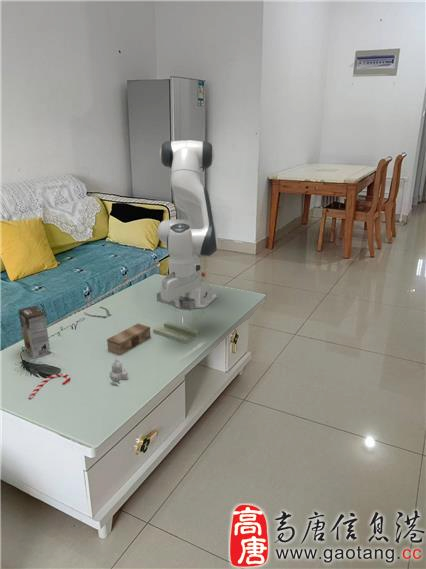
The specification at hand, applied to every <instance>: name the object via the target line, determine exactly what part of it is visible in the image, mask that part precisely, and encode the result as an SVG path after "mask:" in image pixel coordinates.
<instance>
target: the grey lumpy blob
mask: <svg viewBox="0 0 426 569" xmlns="http://www.w3.org/2000/svg"><path fill="white" fill-rule="evenodd" d="M110 368H111V371H110V372H109V378H110V380H111V381H112V382H114V383H119V382H120V381H121V380H127V379H129V378H128V374H129V372H128V371H126V369H125V368H123V363H122V362H121V361H120V360H119V359H117V358H114V362H113V363H112V365H111V367H110Z"/></svg>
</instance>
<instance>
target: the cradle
mask: <svg viewBox="0 0 426 569" xmlns="http://www.w3.org/2000/svg"><path fill="white" fill-rule="evenodd" d="M152 333H153V334H155V335H158V336H162V337H164V338H167V339H170V340H174V341H176V342H179V343H182V344H188V343H189V342H190V341H193V340H194V339H195V338H197V337H199V336H200V331H198V330H197V329H192V328H189V327H186V326H183V325H180V324H176V323H172V322H170V321H166V322H164V323H163V327H161V328H160V327H155V328H153V329H152Z"/></svg>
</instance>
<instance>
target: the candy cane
mask: <svg viewBox="0 0 426 569" xmlns="http://www.w3.org/2000/svg"><path fill="white" fill-rule="evenodd" d="M57 378H63V379H64V378H65V379H66V380H65V381H63V382H62V383H61V384H62V385H63V386H66V385H67V384H68V383H70V381H71V376H70V375H69V374H68V373H56V374H53V375H49V376H47V377H46V378H44V379H42V381H41V382H40V383H39V384H38V385H37V386H36V387H35V388H34V389H33V390H32V392H31V393H30V395H29V396H28V400H32V398H33V399H34V397H35V396H36V395H37V393H38V392H39V391H40V390H41V389H42V387H43V386H45V385H46V383H48V382H49V381H51V380H53V379H57ZM39 389H40V390H39ZM35 394H36V395H35Z"/></svg>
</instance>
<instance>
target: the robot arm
mask: <svg viewBox="0 0 426 569" xmlns="http://www.w3.org/2000/svg"><path fill="white" fill-rule="evenodd" d="M159 158H160V159H159V160H160V162H161V164H162V165H163V166H164V167H166V168H169V169H171V170H170V171H171V172H170V186H171V190H172V191H173V194H174V206H175V207H176V208H177V209H178V210H180V211H182V212H183V213H186V215H187V219H177V218H175V219H174V218H172V219H166V220H162V221H161V222H159V224H158V226H157V229H156V230H157V231H156V232H157V237H158V239H159V241H161V243H163V244H164V245H165V246H166V250H167V252H168V253H169V258H168V272H169V273H168V274H167V275H165V276H164V278H162V280H161V284H160V292H161V299H162V300H164V301H168V302H169V301H171V300H174V302H175V306H174V307H176V308H178V309H180V308H179V307H181V302H180V301H179V299H180V296H183V297H187V298H191V299H195V304H196V308H195V309H205V308H206V307H207V306H208V305H210V304H211V303H212V302H213V301H214V300H215V299H217V294H216V293H214V292H213V291H212V286H211V285H210V284H209V283H208V282H206V281H205V280H203V278H206V274H207V273H206V272H203V271H201V270H202V269H203V268H202V267H203V266H202V264H201V263H200V262H201V260H200V257H199V256H204V257H206V256H207V257H210V256H212V255H213V254H215V253H216V251H218V247H219V238H218V235H217V229H216V226H215V223H214V217H213V216H214V215H213V210H212V205H211V200H210V195H209V194H210V193H209V191H208V189H207V188H206V187H204V185H202V182H201V174H200V173H201V170H200V169H202V172H205V170H207V169H209V168H210V167H211V166H212V163H214V160H215V149H214V147H213V145H212V143H211V142H209V141H205V140H203V141H200V140H195V139H194V140H191V139H187V140H167V141H164V142H163V143H162V144H161V147H160V149H159Z"/></svg>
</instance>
